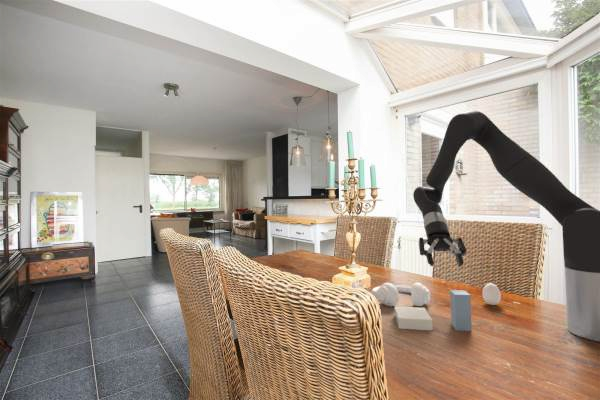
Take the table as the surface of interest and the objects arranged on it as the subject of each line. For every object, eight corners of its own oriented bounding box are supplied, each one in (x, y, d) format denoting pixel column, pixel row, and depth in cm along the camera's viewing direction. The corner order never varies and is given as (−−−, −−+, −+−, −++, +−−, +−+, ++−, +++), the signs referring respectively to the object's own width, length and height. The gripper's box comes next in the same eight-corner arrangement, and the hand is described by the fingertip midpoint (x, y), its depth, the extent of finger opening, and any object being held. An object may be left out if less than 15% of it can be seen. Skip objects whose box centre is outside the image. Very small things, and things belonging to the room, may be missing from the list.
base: (425, 317, 87) (424, 307, 87) (432, 330, 78) (432, 319, 78) (395, 315, 89) (394, 306, 89) (398, 328, 80) (398, 318, 80)
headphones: (437, 309, 92) (418, 295, 112) (435, 284, 93) (416, 275, 113) (377, 309, 94) (369, 295, 114) (376, 284, 95) (368, 275, 115)
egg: (501, 308, 91) (500, 286, 91) (482, 305, 95) (481, 284, 95) (501, 303, 96) (500, 282, 96) (483, 301, 99) (482, 280, 99)
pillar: (451, 323, 82) (450, 290, 82) (466, 324, 81) (464, 290, 81) (455, 330, 78) (454, 294, 78) (471, 330, 77) (470, 295, 77)
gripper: (416, 220, 101) (424, 258, 90) (459, 220, 98) (473, 259, 87) (414, 233, 106) (421, 270, 95) (454, 233, 103) (467, 271, 92)
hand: (446, 265), depth 91 cm, fingers open, 8 cm apart
